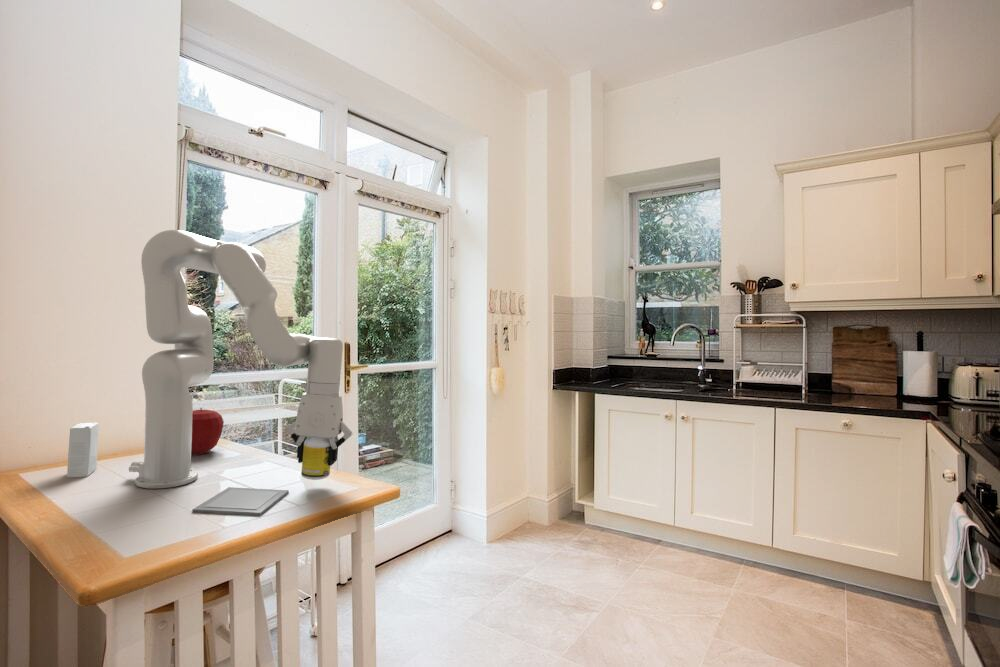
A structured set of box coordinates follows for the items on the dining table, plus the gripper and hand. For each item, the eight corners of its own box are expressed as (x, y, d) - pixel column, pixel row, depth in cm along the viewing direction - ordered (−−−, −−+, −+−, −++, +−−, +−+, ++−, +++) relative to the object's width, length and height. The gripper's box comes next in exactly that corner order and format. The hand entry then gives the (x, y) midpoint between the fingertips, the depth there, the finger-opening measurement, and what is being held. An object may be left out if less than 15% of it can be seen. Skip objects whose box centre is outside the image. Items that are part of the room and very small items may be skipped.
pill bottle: (320, 482, 119) (324, 433, 118) (295, 478, 120) (299, 429, 120) (334, 474, 125) (338, 427, 125) (310, 470, 126) (314, 424, 126)
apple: (228, 454, 148) (230, 408, 148) (182, 460, 139) (184, 412, 139) (214, 445, 156) (216, 402, 156) (170, 451, 148) (172, 405, 147)
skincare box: (75, 471, 127) (77, 422, 126) (98, 469, 128) (99, 422, 128) (66, 478, 121) (67, 427, 121) (89, 477, 123) (90, 427, 122)
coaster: (192, 512, 105) (192, 508, 105) (228, 489, 119) (228, 486, 119) (260, 515, 105) (260, 512, 105) (288, 492, 119) (288, 489, 119)
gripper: (280, 387, 118) (273, 463, 119) (354, 394, 118) (347, 470, 119) (293, 383, 126) (287, 455, 126) (363, 390, 126) (356, 461, 126)
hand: (316, 462), depth 122 cm, fingers closed on pill bottle, 6 cm apart
